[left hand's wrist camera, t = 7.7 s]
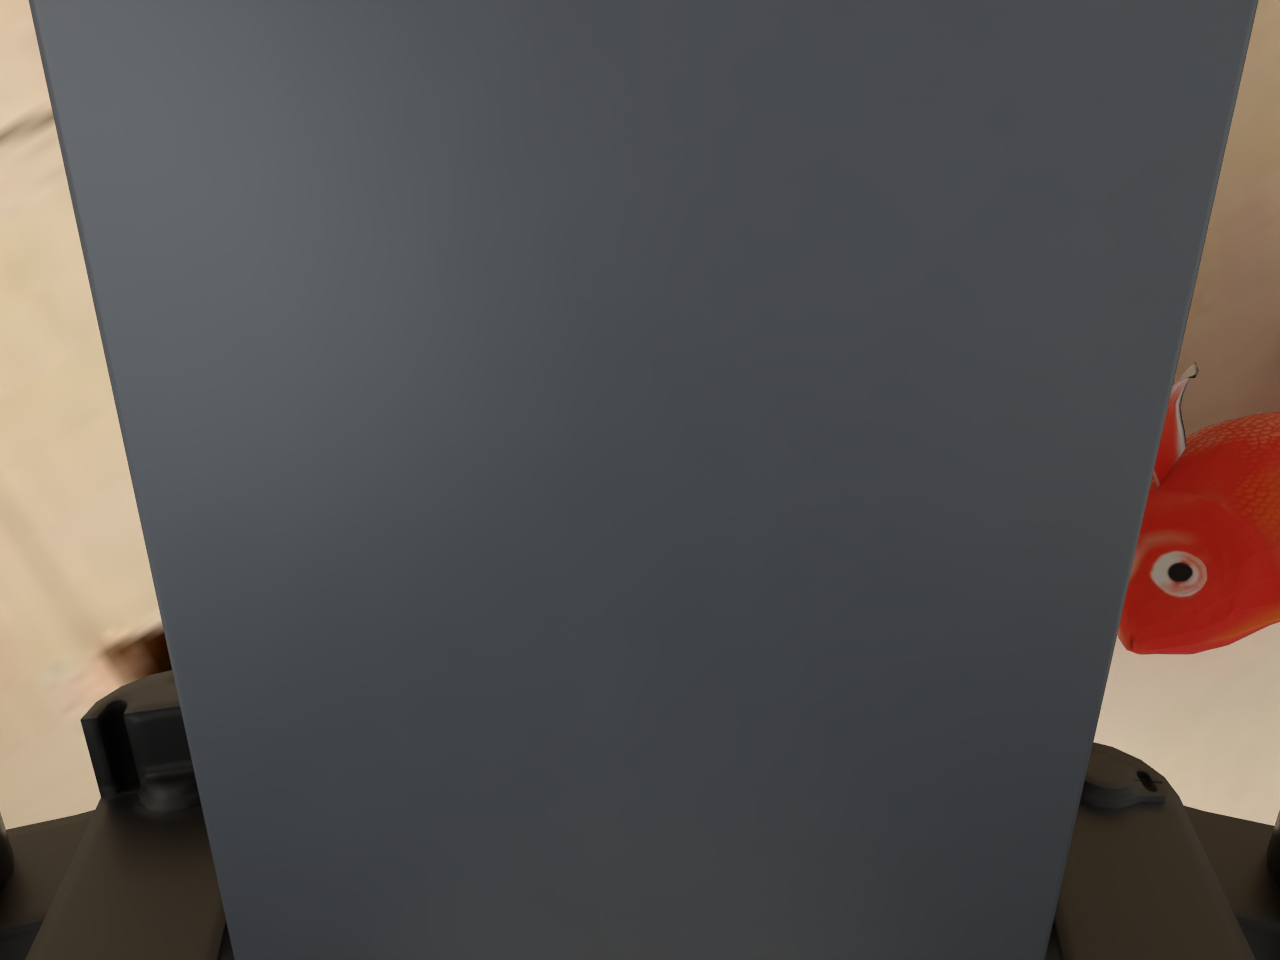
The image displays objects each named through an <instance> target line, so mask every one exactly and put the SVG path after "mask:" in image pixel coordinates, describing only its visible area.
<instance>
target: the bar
mask: <svg viewBox="0 0 1280 960" xmlns="http://www.w3.org/2000/svg"><path fill="white" fill-rule="evenodd" d="M29 3H30V8H31V13H32V17H33V22H34V27H35V31H36V36H37V41H38V45H39V50H40V55H41V59H42V64H43V69H44V73H45V78H46V83H47V87H48V92H49V97H50V101H51V106H52V111H53V115H54V120H55V125H56V129H57V134H58V139H59V143H60V148H61V153H62V157H63V162H64V167H65V171H66V176H67V181H68V185H69V190H70V195H71V199H72V204H73V209H74V213H75V218H76V223H77V227H78V232H79V237H80V241H81V246H82V250H83V255H84V260H85V264H86V269H87V274H88V278H89V283H90V288H91V292H92V297H93V302H94V306H95V311H96V316H97V320H98V325H99V330H100V334H101V339H102V344H103V348H104V353H105V358H106V362H107V367H108V372H109V376H110V381H111V386H112V390H113V395H114V400H115V404H116V409H117V414H118V418H119V423H120V428H121V432H122V437H123V442H124V446H125V451H126V456H127V460H128V465H129V470H130V474H131V479H132V484H133V488H134V493H135V498H136V502H137V507H138V512H139V516H140V521H141V526H142V530H143V535H144V540H145V544H146V549H147V554H148V558H149V563H150V568H151V572H152V577H153V582H154V586H155V591H156V596H157V600H158V605H159V610H160V614H161V619H162V623H163V628H164V633H165V637H166V642H167V647H168V651H169V656H170V661H171V665H172V670H173V675H174V679H175V684H176V689H177V693H178V698H179V703H180V707H181V712H182V717H183V721H184V726H185V731H186V735H187V740H188V745H189V749H190V754H191V759H192V763H193V768H194V773H195V777H196V782H197V787H198V791H199V796H200V801H201V805H202V810H203V815H204V819H205V824H206V829H207V833H208V838H209V843H210V847H211V852H212V857H213V861H214V866H215V871H216V875H217V880H218V885H219V889H220V894H221V899H222V903H223V908H224V913H225V917H226V922H227V927H228V931H229V936H230V941H231V945H232V950H233V955H234V959H235V960H1045V956H1046V952H1047V947H1048V943H1049V938H1050V934H1051V929H1052V925H1053V920H1054V916H1055V911H1056V907H1057V902H1058V898H1059V893H1060V889H1061V884H1062V880H1063V875H1064V871H1065V866H1066V862H1067V857H1068V853H1069V848H1070V844H1071V839H1072V835H1073V830H1074V826H1075V821H1076V817H1077V812H1078V808H1079V803H1080V799H1081V794H1082V790H1083V785H1084V781H1085V777H1086V772H1087V768H1088V763H1089V759H1090V754H1091V750H1092V745H1093V741H1094V736H1095V732H1096V727H1097V723H1098V718H1099V714H1100V709H1101V705H1102V700H1103V696H1104V691H1105V687H1106V682H1107V678H1108V673H1109V669H1110V664H1111V660H1112V655H1113V651H1114V646H1115V642H1116V637H1117V633H1118V628H1119V624H1120V619H1121V615H1122V610H1123V606H1124V601H1125V597H1126V592H1127V588H1128V583H1129V579H1130V574H1131V570H1132V565H1133V561H1134V556H1135V552H1136V547H1137V543H1138V539H1139V534H1140V530H1141V525H1142V521H1143V516H1144V512H1145V507H1146V503H1147V498H1148V494H1149V489H1150V485H1151V480H1152V476H1153V471H1154V467H1155V462H1156V458H1157V453H1158V449H1159V444H1160V440H1161V435H1162V431H1163V426H1164V422H1165V417H1166V413H1167V408H1168V404H1169V399H1170V395H1171V390H1172V386H1173V381H1174V377H1175V372H1176V368H1177V363H1178V359H1179V354H1180V350H1181V345H1182V341H1183V336H1184V332H1185V327H1186V323H1187V318H1188V314H1189V309H1190V305H1191V300H1192V296H1193V292H1194V287H1195V283H1196V278H1197V274H1198V269H1199V265H1200V260H1201V256H1202V251H1203V247H1204V242H1205V238H1206V233H1207V229H1208V224H1209V220H1210V215H1211V211H1212V206H1213V202H1214V197H1215V193H1216V188H1217V184H1218V179H1219V175H1220V170H1221V166H1222V161H1223V157H1224V152H1225V148H1226V143H1227V139H1228V134H1229V130H1230V125H1231V121H1232V116H1233V112H1234V107H1235V103H1236V98H1237V94H1238V89H1239V85H1240V80H1241V76H1242V71H1243V67H1244V62H1245V58H1246V53H1247V49H1248V45H1249V40H1250V36H1251V31H1252V27H1253V22H1254V18H1255V13H1256V9H1257V4H1258V0H29Z"/></svg>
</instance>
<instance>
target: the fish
mask: <svg viewBox="0 0 1280 960" xmlns="http://www.w3.org/2000/svg"><path fill="white" fill-rule="evenodd" d="M1198 371H1199V370H1198V368H1197V365H1196V362H1195V363H1194V364H1192V365H1191V366H1189V368H1188V369H1187V370H1186V371H1185V372H1184V373H1183V374H1182V375H1181V377H1180V378H1179V379H1178V380H1177V381H1176V382H1175V383H1174V384H1173V386H1172V390H1171V395H1170V399H1169V404H1168V408H1167V413H1166V417H1165V422H1164V426H1163V431H1162V435H1161V440H1160V444H1159V449H1158V453H1157V458H1156V462H1155V467H1154V471H1153V476H1152V480H1151V485H1150V489H1149V494H1148V498H1147V503H1146V507H1145V512H1144V516H1143V521H1142V525H1141V530H1140V534H1139V539H1138V543H1137V547H1136V552H1135V556H1134V561H1133V565H1132V570H1131V574H1130V579H1129V583H1128V588H1127V592H1126V597H1125V601H1124V606H1123V610H1122V615H1121V619H1120V624H1119V628H1118V633H1117V635H1118V637H1119V639H1120V640H1121V642H1122V644H1123V645H1124V647H1125V648H1126V649H1127V650H1129V651H1132V652H1134V653H1137V654H1195V653H1198V652H1202V651H1206V650H1210V649H1214V648H1218V647H1222V646H1226V645H1229V644H1231V643H1233V642H1235V641H1238V640H1240V639H1242V638H1244V637H1246V636H1248V635H1250V634H1252V633H1254V632H1256V631H1258V630H1260V629H1263V628H1265V627H1267V626H1269V625H1272V624H1275V623H1278V622H1280V412H1272V413H1264V414H1256V415H1251V416H1247V417H1242V418H1238V419H1233V420H1229V421H1224V422H1220V423H1216V424H1213V425H1211V426H1208V427H1205V428H1203V429H1201V430H1199V431H1197V432H1195V433H1193V434H1191V435H1190V436H1188V437H1186V438H1185V430H1184V426H1183V421H1182V416H1181V409H1180V405H1181V400H1182V396H1183V393H1184V390H1185V388H1186V385H1187V383H1188V381H1189V379H1190V378H1195V377H1196V375H1197V373H1198Z"/></svg>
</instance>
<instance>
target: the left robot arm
mask: <svg viewBox="0 0 1280 960" xmlns="http://www.w3.org/2000/svg"><path fill="white" fill-rule="evenodd" d="M81 723H82V727H83V731H84V735H85V738H86V742H87V746H88V750H89V753H90V757H91V761H92V765H93V768H94V772H95V776H96V779H97V783H98V787H99V791H100V794H101V799H100V801H99V803H98V805H97V808H96V810H93V811H89V812H86V813H82V814H78V815H74V816H69V817H65V818H60V819H55V820H51V821H46V822H41V823H36V824H32V825H27V826H22V827H18V828H13V829H8V830H6V829H5V826H4V823H3V820H2V816H1V813H0V960H235V959H234V955H233V950H232V945H231V941H230V936H229V931H228V927H227V922H226V917H225V913H224V908H223V903H222V899H221V894H220V889H219V885H218V880H217V875H216V871H215V866H214V861H213V857H212V852H211V847H210V843H209V838H208V833H207V829H206V824H205V819H204V815H203V810H202V805H201V801H200V796H199V791H198V787H197V782H196V777H195V773H194V768H193V763H192V759H191V754H190V749H189V745H188V740H187V735H186V731H185V726H184V721H183V717H182V712H181V707H180V703H179V698H178V693H177V689H176V684H175V679H174V675H173V670H171V671H167V672H162V673H157V674H153V675H149V676H147V677H144V678H142V679H139V680H137V681H134V682H132V683H129V684H127V685H124V686H122V687H120V688H118V689H117V690H115V691H113V692H112V693H110V694H109V695H107V696H106V697H104V698H102V699H101V700H99V701H98V702H96V703H95V704H94V705H93V707H92V708H91V709H90V710H89V711H88V712H87V713H86V714H85V715H84V717H83V718H82V719H81ZM1045 960H1280V811H1279V814H1278V817H1277V820H1276V824H1275V826H1272V825H1267V824H1262V823H1257V822H1253V821H1248V820H1243V819H1238V818H1234V817H1229V816H1224V815H1219V814H1215V813H1210V812H1205V811H1201V810H1198V809H1194V808H1190V807H1187V806H1183V804H1182V802H1181V800H1180V797H1179V796H1178V794H1177V793H1176V792H1175V790H1174V789H1173V788H1172V787H1171V785H1170V784H1169V783H1168V781H1167V780H1166V779H1165V777H1163V776H1162V775H1161V774H1159V773H1158V772H1157V771H1155V770H1154V769H1153V768H1151V767H1150V766H1148V765H1147V764H1146V763H1144V762H1143V761H1142V760H1140V759H1138V758H1135V757H1133V756H1131V755H1129V754H1127V753H1124V752H1122V751H1120V750H1118V749H1116V748H1113V747H1110V746H1106V745H1102V744H1098V743H1094V742H1093V745H1092V750H1091V754H1090V759H1089V763H1088V768H1087V772H1086V777H1085V781H1084V785H1083V790H1082V794H1081V799H1080V803H1079V808H1078V812H1077V817H1076V821H1075V826H1074V830H1073V835H1072V839H1071V844H1070V848H1069V853H1068V857H1067V862H1066V866H1065V871H1064V875H1063V880H1062V884H1061V889H1060V893H1059V898H1058V902H1057V907H1056V911H1055V916H1054V920H1053V925H1052V929H1051V934H1050V938H1049V943H1048V947H1047V952H1046V956H1045Z"/></svg>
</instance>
